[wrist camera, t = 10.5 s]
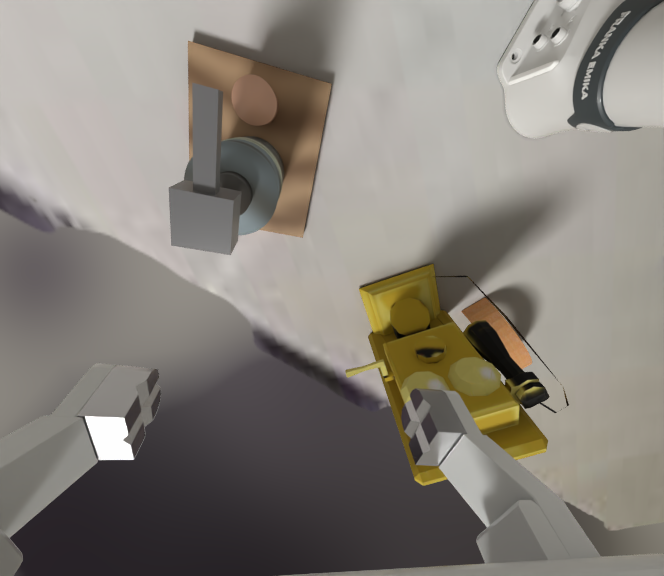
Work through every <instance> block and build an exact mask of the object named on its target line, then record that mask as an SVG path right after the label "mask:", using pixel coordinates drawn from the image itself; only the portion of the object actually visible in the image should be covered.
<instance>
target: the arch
mask: <svg viewBox="0 0 664 576" xmlns="http://www.w3.org/2000/svg"><path fill="white" fill-rule="evenodd" d="M462 312H463V314H464V315H465V316H466V317H467V318H468V320H469V321H470V322H471V323H473V322H475V321H479V320H486V321H487V322H488V323H489V324H490V325H491V326H492V327H493V329H494V330H495V331H496V332H497V334H498V335H499V337H500V339H501V341H502V342H503V344H504V346H505V348H506V349H507V351H508V353H509V355H510V357H511V358H512V359H513V360H514V361H515V362H516V363H517V364H518V366H519V367H520V368H521V369H523V368H525V367H527V366H529V365H531V364H532V359H531V357H530V355H529V353H528V351H527V349H526V348H525V346H524V344H523V343H522V341H521V340H520V338H519V337H518V335H517V334H516V333H515V331H514V330H513V329H512V327H511V326H510V325H509V323H508V322H507V321H506V320H505V318H504V317H503V316H502V315H501V314H500V312H499V311H498V310H497V309H496V308H495V307H494V306H493V305H492V304H491V303H490V302H489V301H488V300H487V299H486V298H483V299H481V300H480V301H478V302H476V303H475V304H473V305H471V306H469V307H468V308H466V309H464V310H463V311H462Z"/></svg>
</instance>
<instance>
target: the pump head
mask: <svg viewBox="0 0 664 576" xmlns="http://www.w3.org/2000/svg"><path fill="white" fill-rule="evenodd" d="M192 100H193V181H188V180H184V181H182V182H179V183H177V184H175V185H173V186H171V187H169V202H170V225H171V245H172V246H178V247H184V248H190V249H196V250H203V251H209V252H215V253H221V254H227V255H231V253H232V251H233V249H234V247H235V245H236V243H237V241H238V232H239V218H240V205H241V191H237V190H232V189H227V188H222V187H220V163H221V136H222V110H223V92H222V91H220V90H218V89H214V88H210V87H207V86H203V85H199V84H196V83H192Z"/></svg>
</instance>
